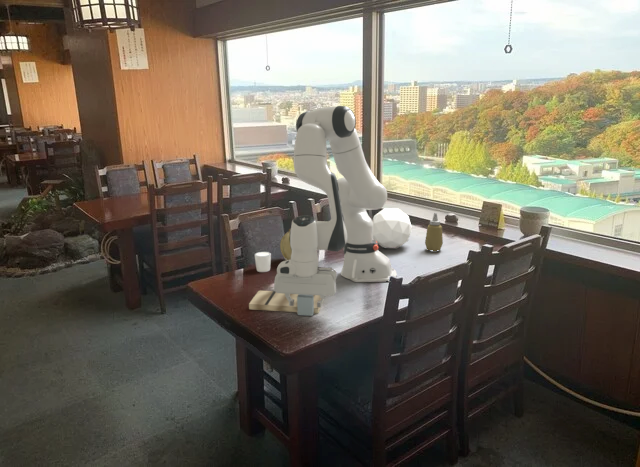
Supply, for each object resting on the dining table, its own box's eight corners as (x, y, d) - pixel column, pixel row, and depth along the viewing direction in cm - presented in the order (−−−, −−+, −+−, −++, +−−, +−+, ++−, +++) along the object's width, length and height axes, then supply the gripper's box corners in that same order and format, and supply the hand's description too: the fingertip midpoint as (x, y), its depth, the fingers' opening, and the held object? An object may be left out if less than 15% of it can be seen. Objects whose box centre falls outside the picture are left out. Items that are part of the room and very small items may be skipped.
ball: (384, 257, 238) (384, 220, 245) (420, 249, 225) (419, 211, 232) (361, 246, 224) (362, 207, 232) (398, 237, 212) (397, 196, 219)
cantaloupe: (318, 265, 207) (317, 231, 203) (284, 268, 203) (283, 234, 199) (308, 255, 220) (308, 223, 216) (277, 258, 216) (276, 226, 212)
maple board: (323, 299, 172) (323, 293, 171) (318, 313, 160) (318, 307, 160) (259, 295, 176) (258, 290, 175) (249, 309, 164) (248, 303, 164)
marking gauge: (319, 299, 171) (319, 282, 169) (312, 315, 158) (312, 297, 156) (305, 298, 172) (305, 281, 170) (297, 314, 159) (297, 296, 157)
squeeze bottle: (444, 249, 226) (447, 212, 221) (438, 254, 219) (441, 215, 215) (428, 247, 230) (430, 210, 225) (422, 251, 224) (423, 213, 219)
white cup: (268, 273, 198) (268, 257, 196) (253, 272, 200) (252, 256, 198) (273, 267, 205) (273, 251, 203) (258, 266, 206) (257, 251, 204)
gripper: (337, 264, 156) (338, 303, 160) (276, 261, 160) (278, 300, 163) (335, 271, 150) (335, 311, 154) (271, 268, 154) (273, 308, 157)
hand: (305, 306), depth 159 cm, fingers open, 8 cm apart
